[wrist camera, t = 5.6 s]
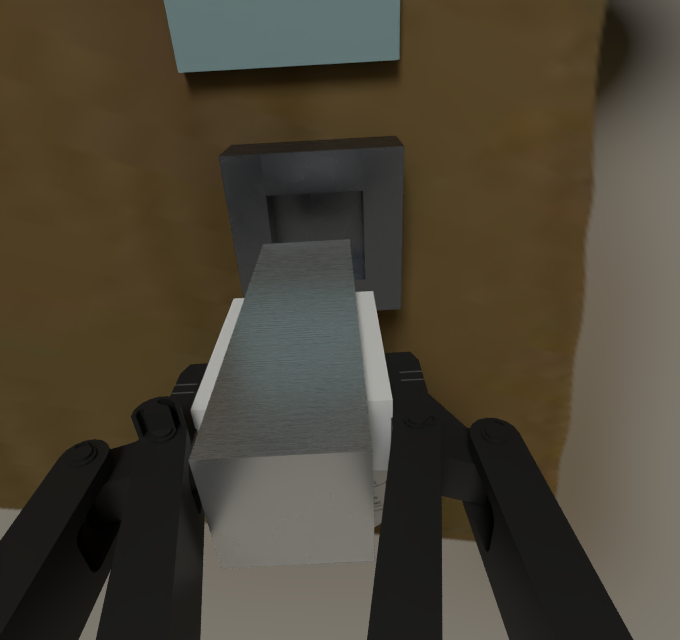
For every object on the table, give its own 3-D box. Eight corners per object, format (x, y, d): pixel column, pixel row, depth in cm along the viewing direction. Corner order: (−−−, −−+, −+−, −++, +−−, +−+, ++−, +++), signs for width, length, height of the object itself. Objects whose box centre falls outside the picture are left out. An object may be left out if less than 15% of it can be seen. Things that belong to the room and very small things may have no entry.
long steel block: (274, 318, 23) (221, 568, 12) (263, 244, 21) (188, 460, 10) (352, 314, 23) (374, 561, 12) (349, 239, 21) (372, 451, 10)
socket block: (254, 292, 33) (246, 316, 30) (231, 145, 28) (218, 156, 25) (394, 285, 33) (400, 309, 30) (396, 135, 28) (403, 146, 25)
